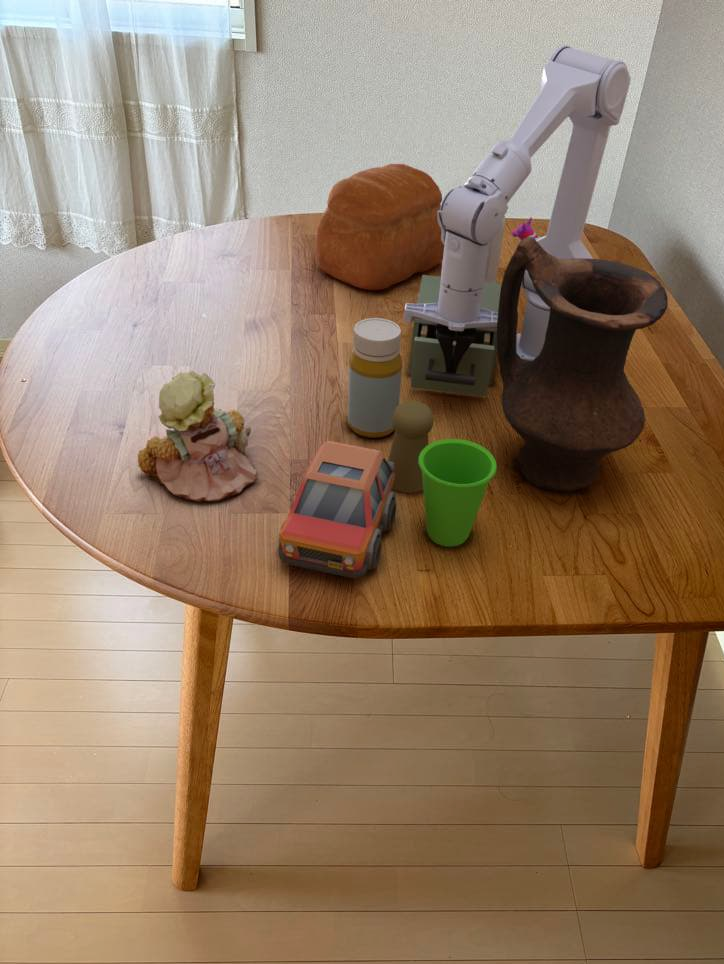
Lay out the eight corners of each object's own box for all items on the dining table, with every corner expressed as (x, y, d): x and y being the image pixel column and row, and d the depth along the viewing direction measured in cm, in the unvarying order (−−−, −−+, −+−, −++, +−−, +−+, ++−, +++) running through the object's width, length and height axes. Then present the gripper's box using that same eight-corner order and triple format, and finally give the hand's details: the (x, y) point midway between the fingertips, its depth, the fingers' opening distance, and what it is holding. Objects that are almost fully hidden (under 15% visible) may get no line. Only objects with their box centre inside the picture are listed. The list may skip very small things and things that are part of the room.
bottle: (404, 419, 129) (412, 323, 119) (386, 445, 124) (392, 347, 114) (359, 407, 131) (363, 311, 121) (339, 432, 126) (341, 334, 116)
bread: (454, 266, 168) (465, 174, 157) (377, 302, 156) (383, 204, 144) (384, 236, 176) (389, 146, 165) (305, 267, 163) (305, 172, 152)
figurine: (233, 429, 124) (229, 334, 114) (280, 487, 117) (280, 391, 106) (127, 461, 117) (112, 363, 107) (169, 525, 110) (158, 426, 99)
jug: (641, 452, 128) (703, 247, 108) (608, 527, 114) (672, 310, 95) (500, 410, 133) (534, 207, 113) (453, 477, 120) (483, 261, 100)
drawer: (485, 414, 130) (493, 366, 125) (407, 404, 131) (411, 357, 125) (489, 351, 144) (496, 306, 139) (418, 342, 144) (422, 297, 139)
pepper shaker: (425, 496, 116) (433, 425, 109) (379, 488, 117) (384, 416, 110) (433, 469, 121) (442, 399, 114) (389, 461, 122) (395, 390, 114)
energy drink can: (501, 293, 162) (514, 210, 152) (477, 301, 158) (488, 217, 149) (478, 280, 165) (489, 197, 155) (454, 288, 162) (463, 204, 152)
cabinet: (491, 385, 138) (500, 328, 132) (408, 375, 138) (414, 318, 132) (493, 338, 149) (502, 283, 143) (417, 329, 149) (422, 274, 143)
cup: (407, 509, 114) (415, 437, 107) (478, 510, 115) (490, 438, 108) (414, 558, 107) (422, 485, 100) (489, 558, 109) (503, 485, 101)
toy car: (269, 572, 104) (267, 504, 97) (313, 486, 116) (314, 420, 110) (367, 593, 102) (371, 526, 96) (401, 503, 115) (407, 438, 108)
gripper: (404, 289, 117) (397, 380, 126) (516, 302, 117) (501, 392, 126) (409, 265, 123) (402, 354, 132) (516, 278, 122) (502, 366, 131)
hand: (450, 371), depth 129 cm, fingers closed, pressing on drawer
